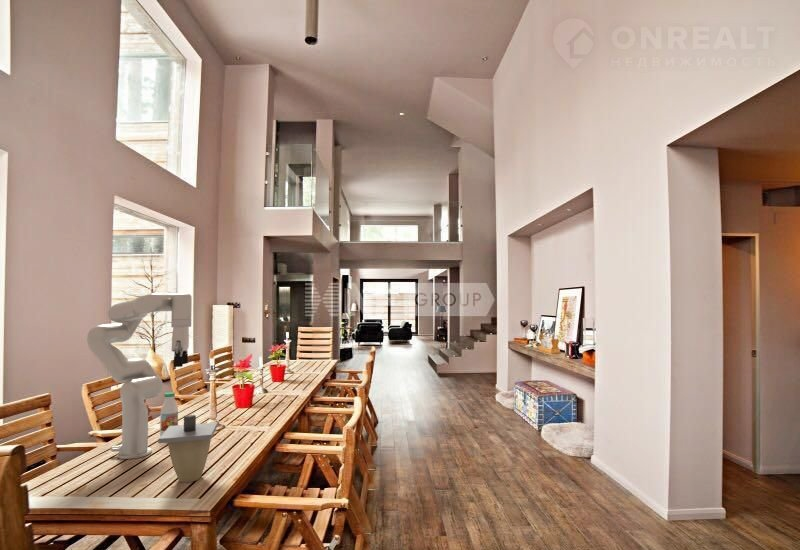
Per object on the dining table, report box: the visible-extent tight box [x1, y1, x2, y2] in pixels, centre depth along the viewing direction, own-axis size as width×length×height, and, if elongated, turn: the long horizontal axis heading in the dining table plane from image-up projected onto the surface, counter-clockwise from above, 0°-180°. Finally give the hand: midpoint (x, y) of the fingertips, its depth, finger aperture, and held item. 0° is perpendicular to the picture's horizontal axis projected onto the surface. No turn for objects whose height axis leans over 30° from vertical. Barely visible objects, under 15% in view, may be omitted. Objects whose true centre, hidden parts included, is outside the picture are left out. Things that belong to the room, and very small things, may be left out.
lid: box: [157, 414, 218, 444], centre depth 171 cm, size 17×17×6 cm
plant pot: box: [167, 438, 212, 483], centre depth 170 cm, size 15×15×16 cm
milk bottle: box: [159, 391, 179, 436], centre depth 227 cm, size 8×8×20 cm
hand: (180, 365), depth 192 cm, fingers open, 9 cm apart
